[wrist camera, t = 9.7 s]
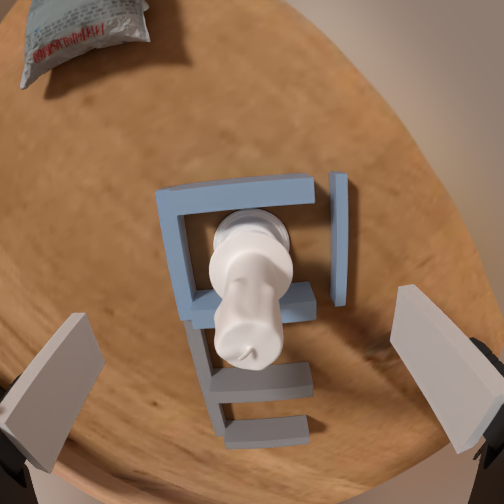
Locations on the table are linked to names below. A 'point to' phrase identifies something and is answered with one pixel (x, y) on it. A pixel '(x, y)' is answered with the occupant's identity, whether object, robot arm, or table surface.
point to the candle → (250, 287)
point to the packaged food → (77, 30)
